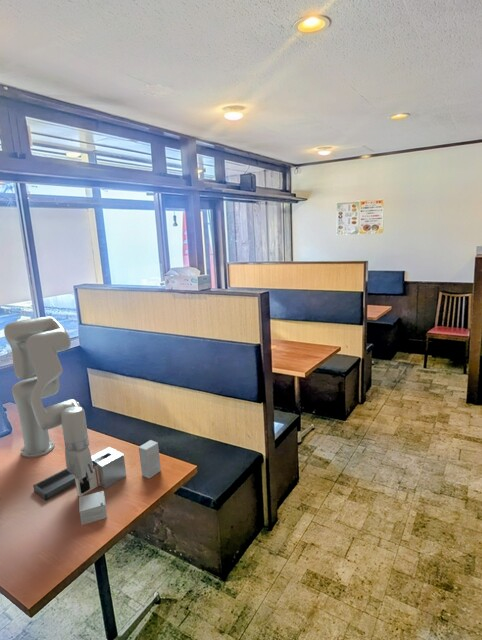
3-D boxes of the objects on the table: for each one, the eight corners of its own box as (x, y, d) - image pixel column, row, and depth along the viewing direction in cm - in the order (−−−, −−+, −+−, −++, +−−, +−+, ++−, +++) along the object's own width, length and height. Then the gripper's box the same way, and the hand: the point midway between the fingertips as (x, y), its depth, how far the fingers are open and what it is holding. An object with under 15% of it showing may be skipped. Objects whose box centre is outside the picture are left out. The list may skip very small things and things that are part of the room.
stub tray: (34, 491, 139) (33, 485, 139) (77, 468, 152) (76, 463, 151) (45, 500, 134) (44, 494, 134) (89, 476, 147) (88, 470, 146)
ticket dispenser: (91, 479, 145) (88, 457, 143) (112, 467, 152) (109, 446, 150) (105, 488, 139) (102, 466, 137) (126, 475, 146) (123, 454, 144)
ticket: (77, 495, 136) (74, 477, 135) (109, 476, 146) (107, 459, 145) (80, 497, 135) (77, 479, 134) (112, 477, 145) (110, 460, 144)
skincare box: (153, 467, 151) (150, 439, 148) (161, 471, 148) (158, 442, 146) (141, 475, 146) (138, 446, 143) (149, 479, 144) (146, 450, 141)
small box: (80, 510, 129) (78, 496, 128) (105, 503, 132) (104, 490, 131) (81, 526, 122) (78, 511, 121) (107, 518, 125) (105, 504, 124)
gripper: (54, 440, 135) (62, 487, 139) (79, 454, 126) (86, 504, 130) (74, 431, 141) (81, 476, 145) (99, 444, 131) (106, 492, 136)
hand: (83, 489), depth 137 cm, fingers closed on ticket, 1 cm apart
